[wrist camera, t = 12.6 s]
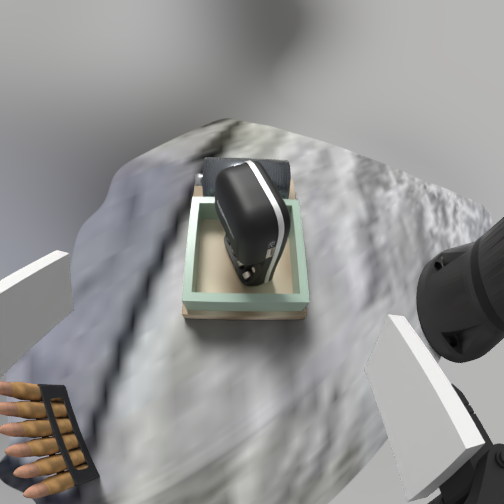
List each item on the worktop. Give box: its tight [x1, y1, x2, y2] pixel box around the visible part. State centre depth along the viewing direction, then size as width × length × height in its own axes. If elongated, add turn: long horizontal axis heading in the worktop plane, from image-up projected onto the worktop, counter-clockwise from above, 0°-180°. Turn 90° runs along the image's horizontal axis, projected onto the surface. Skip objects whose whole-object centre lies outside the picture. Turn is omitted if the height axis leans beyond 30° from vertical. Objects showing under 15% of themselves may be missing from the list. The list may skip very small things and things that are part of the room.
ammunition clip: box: [0, 381, 99, 498], centre depth 15 cm, size 11×2×12 cm, turn 24°
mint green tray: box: [182, 158, 310, 320], centre depth 29 cm, size 12×17×6 cm
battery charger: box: [215, 160, 291, 286], centre depth 24 cm, size 7×4×11 cm, turn 23°
